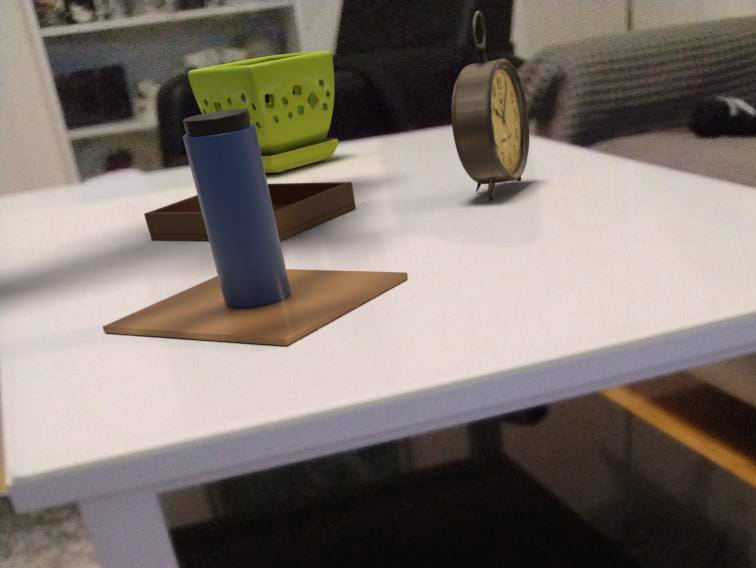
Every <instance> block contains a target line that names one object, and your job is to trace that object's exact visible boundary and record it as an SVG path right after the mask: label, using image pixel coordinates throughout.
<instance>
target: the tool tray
mask: <svg viewBox="0 0 756 568" xmlns="http://www.w3.org/2000/svg"><path fill="white" fill-rule="evenodd" d="M267 184H268V188H269V193H270V198H271V202H272V207H273V211H274V216H275V221H276V225H277V230H278V235H279V239H280V242H281V241H283V240H286V239H289V238H290V237H293V236H296V235H297V234H299V233H302V232H304V231H307V230H309V229H311V228H313V227H316V226H318V225H320V224H322V223H325V222H327V221H329V220H332V219H334V218H336V217H338V216H341V215H343V214H346V213H348V212H350V211H352V210H355V209H357V205H356V200H355V194H354V188H353V183H352V181H333V182H331V181H329V182H285V183H284V182H282V183H281V182H280V183H279V182H278V183H267ZM143 215H144V219H145V222H146V223H145V224H146V226H147V229H148V232H149V237H150V240H152V241H209V238H208V234H207V230H206V227H205V223H204V219H203V215H202V211H201V207H200V203H199V199H198V195H197V194H196V195H193V196H191V197H188V198H185V199H182V200H179V201H175V202H174V203H170V204H167V205H164V206H162V207H158V208H157V209H154V210H153V209H152V210H151V211H148V212H147V211H146V212H144V213H143Z"/></svg>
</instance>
